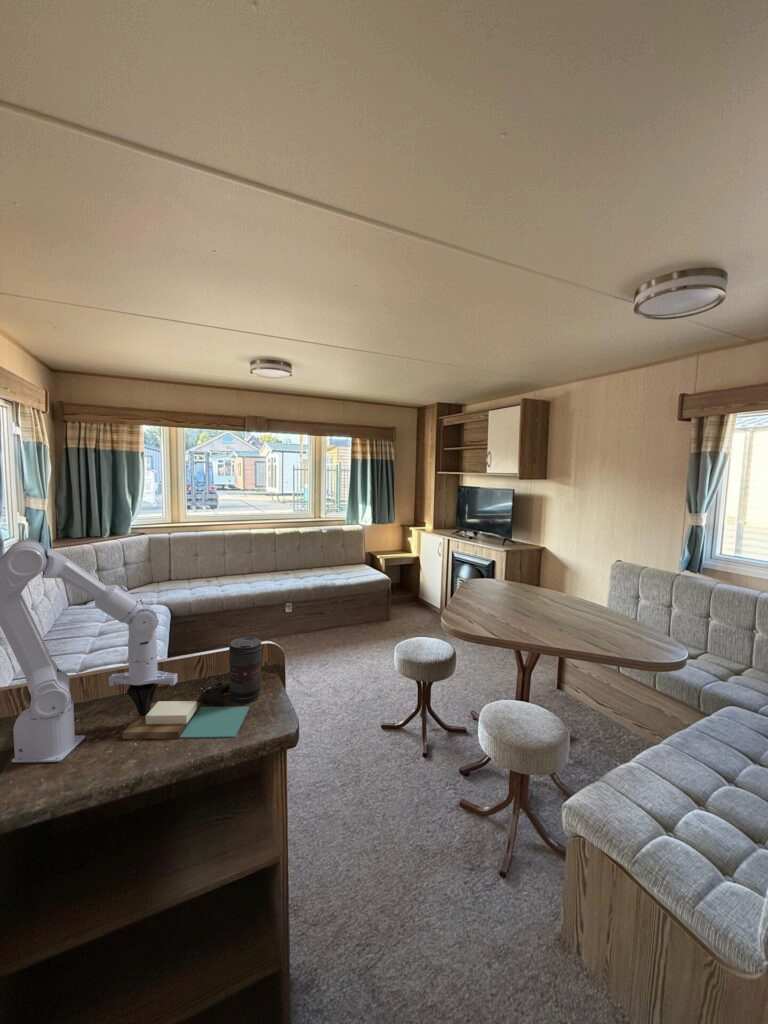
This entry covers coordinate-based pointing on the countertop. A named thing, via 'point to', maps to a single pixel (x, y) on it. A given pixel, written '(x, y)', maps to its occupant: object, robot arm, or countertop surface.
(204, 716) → the teal mat
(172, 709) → the cream tile
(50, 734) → the robot arm
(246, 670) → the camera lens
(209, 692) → the game controller
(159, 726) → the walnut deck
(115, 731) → the countertop surface
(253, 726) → the countertop surface
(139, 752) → the countertop surface
